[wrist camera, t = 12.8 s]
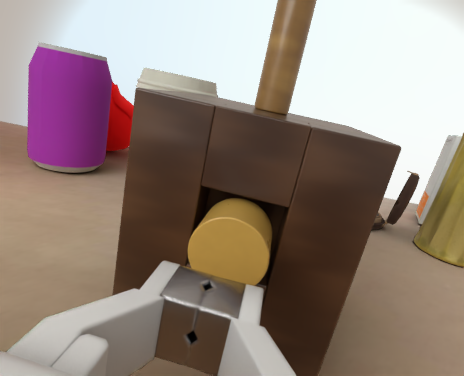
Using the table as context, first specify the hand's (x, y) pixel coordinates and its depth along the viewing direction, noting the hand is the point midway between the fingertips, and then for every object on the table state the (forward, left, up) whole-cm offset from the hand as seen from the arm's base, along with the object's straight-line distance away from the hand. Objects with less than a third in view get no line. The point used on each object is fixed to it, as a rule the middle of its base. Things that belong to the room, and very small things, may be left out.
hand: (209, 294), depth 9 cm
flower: (-7, +40, -4) cm, 41 cm away
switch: (+1, +3, -1) cm, 4 cm away
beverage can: (-12, +29, -6) cm, 32 cm away
